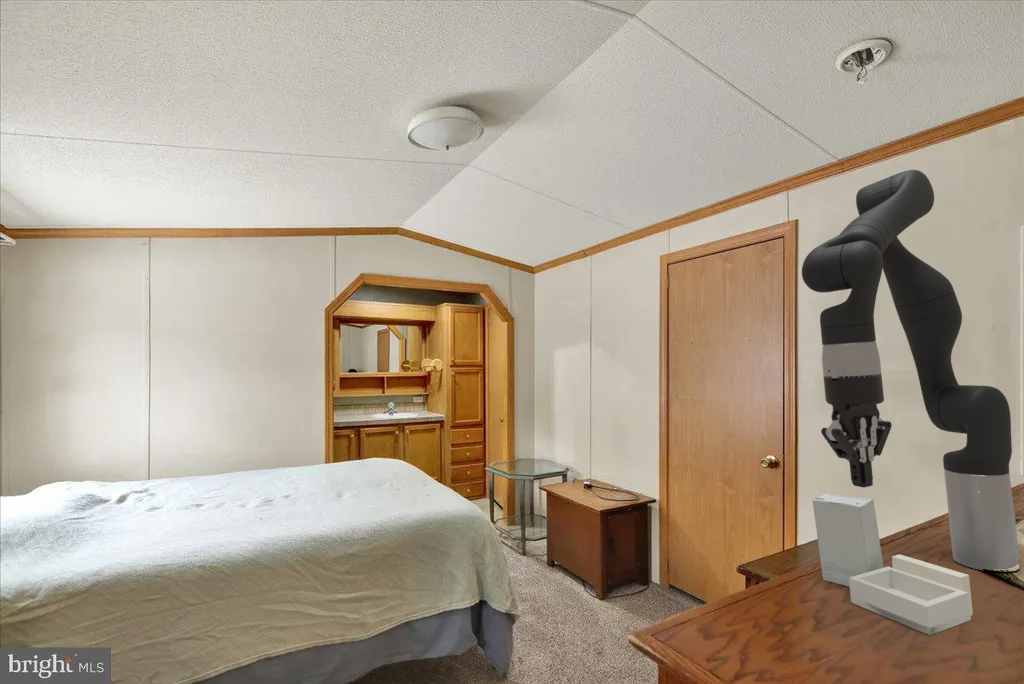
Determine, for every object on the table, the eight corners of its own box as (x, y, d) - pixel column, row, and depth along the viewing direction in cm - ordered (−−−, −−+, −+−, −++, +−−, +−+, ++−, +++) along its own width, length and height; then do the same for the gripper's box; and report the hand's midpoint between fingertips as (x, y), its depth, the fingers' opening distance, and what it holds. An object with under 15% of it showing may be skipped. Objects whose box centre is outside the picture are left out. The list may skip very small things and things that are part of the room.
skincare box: (886, 585, 90) (878, 499, 91) (870, 595, 86) (862, 505, 87) (834, 570, 97) (827, 491, 98) (818, 579, 93) (811, 497, 94)
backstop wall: (902, 590, 88) (899, 554, 88) (972, 615, 78) (968, 574, 79) (895, 592, 87) (891, 556, 87) (964, 618, 77) (960, 577, 78)
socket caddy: (890, 590, 88) (887, 566, 88) (971, 619, 77) (968, 592, 77) (851, 602, 84) (848, 577, 84) (930, 635, 73) (927, 606, 73)
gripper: (857, 370, 85) (867, 475, 84) (799, 375, 81) (809, 487, 80) (905, 369, 78) (917, 484, 77) (845, 375, 74) (857, 497, 73)
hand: (862, 485), depth 79 cm, fingers closed
